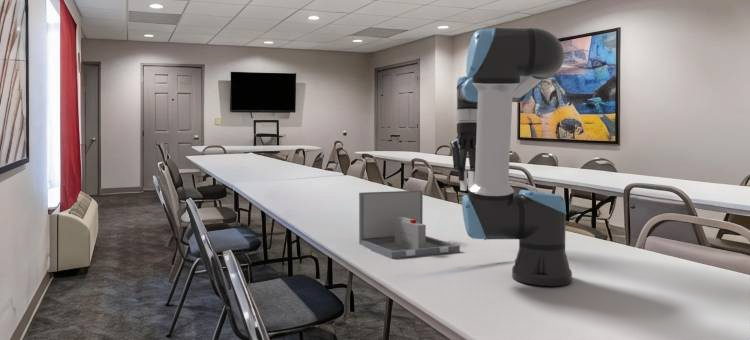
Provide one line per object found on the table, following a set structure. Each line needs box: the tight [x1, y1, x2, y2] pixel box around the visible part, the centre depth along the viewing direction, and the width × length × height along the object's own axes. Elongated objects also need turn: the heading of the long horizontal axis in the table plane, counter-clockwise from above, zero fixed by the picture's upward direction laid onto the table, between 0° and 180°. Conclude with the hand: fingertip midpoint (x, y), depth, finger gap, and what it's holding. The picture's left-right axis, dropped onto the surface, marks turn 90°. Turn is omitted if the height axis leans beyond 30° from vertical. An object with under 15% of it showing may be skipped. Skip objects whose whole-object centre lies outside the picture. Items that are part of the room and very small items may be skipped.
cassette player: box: [394, 217, 427, 250], centre depth 166 cm, size 16×3×10 cm, turn 26°
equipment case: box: [358, 189, 461, 260], centre depth 167 cm, size 24×24×18 cm
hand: (467, 190), depth 176 cm, fingers open, 3 cm apart
